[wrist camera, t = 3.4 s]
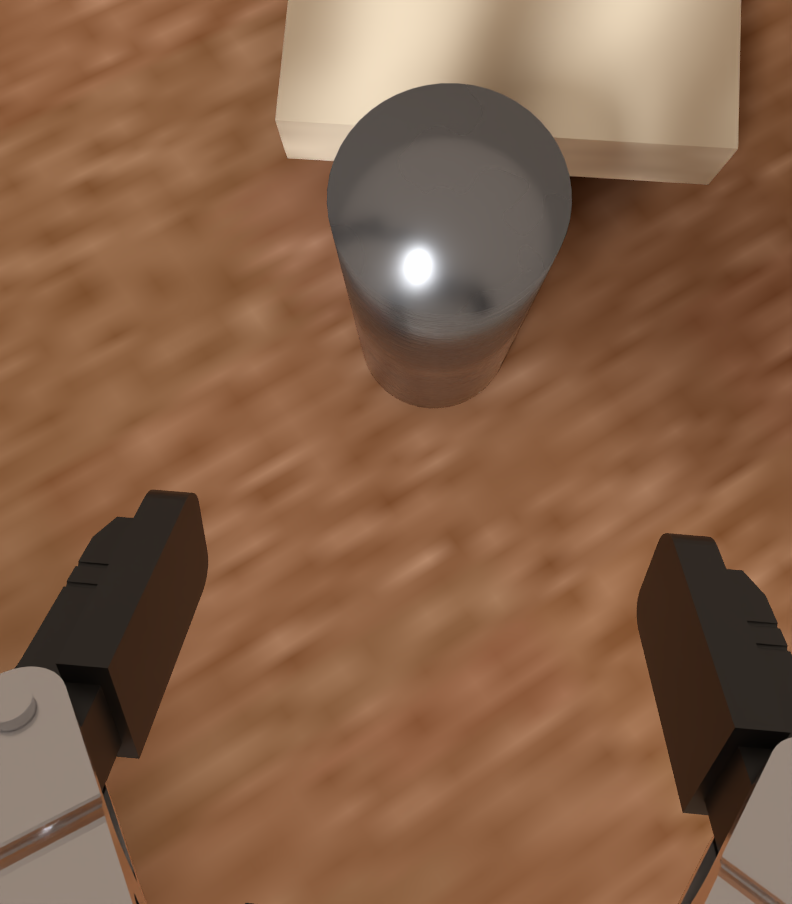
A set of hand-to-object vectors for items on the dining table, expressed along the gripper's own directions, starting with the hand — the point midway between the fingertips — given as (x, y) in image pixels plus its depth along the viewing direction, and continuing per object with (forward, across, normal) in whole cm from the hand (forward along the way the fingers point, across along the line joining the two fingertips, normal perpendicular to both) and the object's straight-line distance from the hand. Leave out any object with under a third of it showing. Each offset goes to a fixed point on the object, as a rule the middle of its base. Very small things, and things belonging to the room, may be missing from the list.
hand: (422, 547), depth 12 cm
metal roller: (+13, 0, +3) cm, 13 cm away
